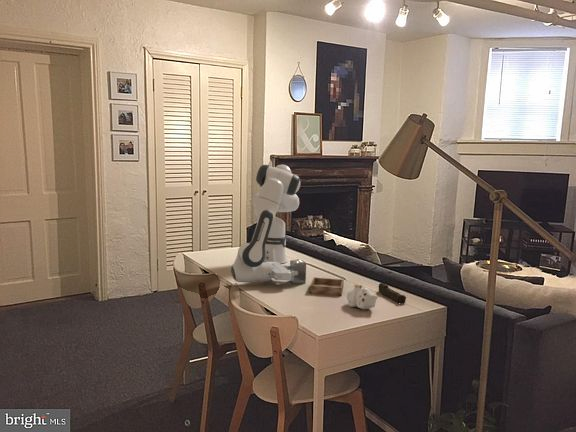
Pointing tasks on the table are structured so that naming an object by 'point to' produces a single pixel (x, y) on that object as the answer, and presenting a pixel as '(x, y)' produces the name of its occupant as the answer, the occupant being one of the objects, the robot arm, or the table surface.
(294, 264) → the gravel tin
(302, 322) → the table surface
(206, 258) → the table surface
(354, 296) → the cat figurine
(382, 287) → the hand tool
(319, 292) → the walnut tray
